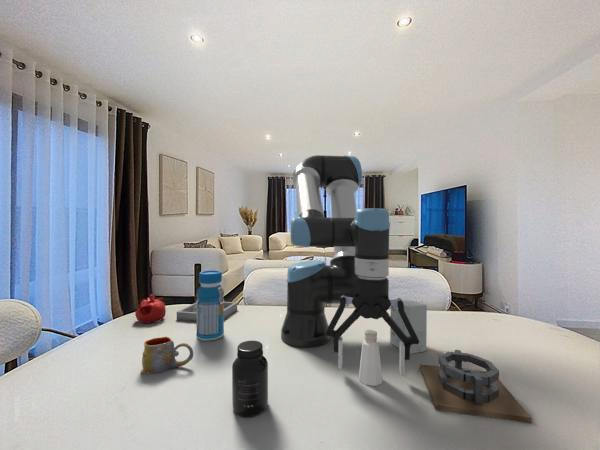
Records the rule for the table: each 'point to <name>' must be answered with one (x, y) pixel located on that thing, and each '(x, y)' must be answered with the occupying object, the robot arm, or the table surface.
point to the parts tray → (191, 316)
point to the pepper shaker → (370, 360)
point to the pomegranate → (150, 310)
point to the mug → (162, 355)
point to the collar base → (448, 402)
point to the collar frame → (469, 377)
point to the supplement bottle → (249, 380)
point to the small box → (418, 321)
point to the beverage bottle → (210, 306)
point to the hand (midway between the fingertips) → (370, 369)
